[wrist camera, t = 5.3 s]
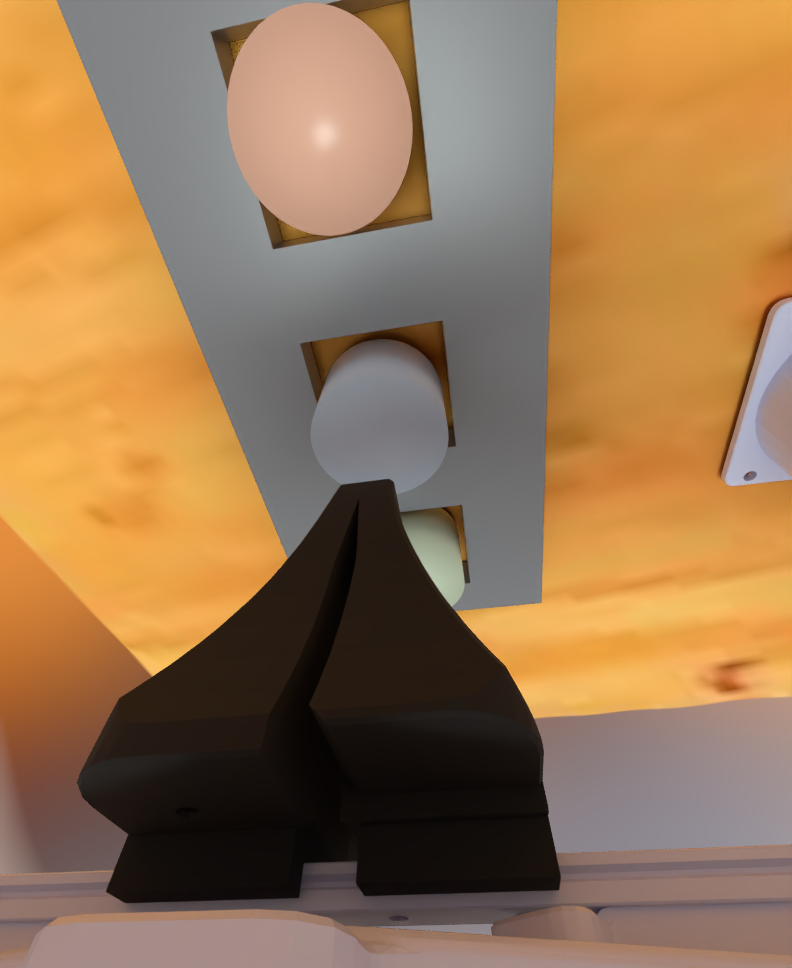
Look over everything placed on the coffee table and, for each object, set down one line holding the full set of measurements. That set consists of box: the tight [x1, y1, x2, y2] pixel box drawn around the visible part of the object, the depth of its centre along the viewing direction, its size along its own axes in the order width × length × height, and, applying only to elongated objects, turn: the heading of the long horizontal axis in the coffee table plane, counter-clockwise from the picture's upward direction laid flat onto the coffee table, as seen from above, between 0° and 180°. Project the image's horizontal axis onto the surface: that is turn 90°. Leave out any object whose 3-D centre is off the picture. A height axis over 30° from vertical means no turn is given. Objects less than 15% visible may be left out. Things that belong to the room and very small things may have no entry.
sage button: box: [400, 508, 465, 607], centre depth 22 cm, size 4×4×3 cm
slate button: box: [310, 339, 449, 494], centre depth 16 cm, size 4×4×3 cm
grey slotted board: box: [57, 0, 557, 611], centre depth 18 cm, size 12×25×2 cm, turn 9°
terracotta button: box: [227, 3, 413, 236], centre depth 12 cm, size 4×4×3 cm
